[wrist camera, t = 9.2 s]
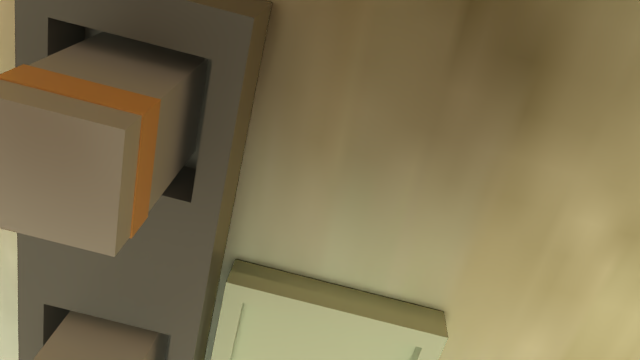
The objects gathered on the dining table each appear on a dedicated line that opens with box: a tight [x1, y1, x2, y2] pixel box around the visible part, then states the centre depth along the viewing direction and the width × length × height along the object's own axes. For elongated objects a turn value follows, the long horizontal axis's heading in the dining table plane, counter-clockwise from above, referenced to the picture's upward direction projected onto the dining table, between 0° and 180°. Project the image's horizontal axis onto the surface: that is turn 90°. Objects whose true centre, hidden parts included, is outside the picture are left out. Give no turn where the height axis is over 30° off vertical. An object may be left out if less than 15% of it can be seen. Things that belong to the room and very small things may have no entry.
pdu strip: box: [0, 0, 272, 360], centre depth 20 cm, size 7×20×8 cm, turn 167°
